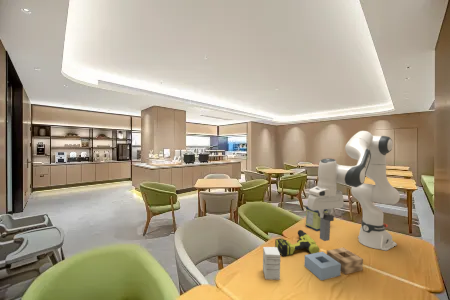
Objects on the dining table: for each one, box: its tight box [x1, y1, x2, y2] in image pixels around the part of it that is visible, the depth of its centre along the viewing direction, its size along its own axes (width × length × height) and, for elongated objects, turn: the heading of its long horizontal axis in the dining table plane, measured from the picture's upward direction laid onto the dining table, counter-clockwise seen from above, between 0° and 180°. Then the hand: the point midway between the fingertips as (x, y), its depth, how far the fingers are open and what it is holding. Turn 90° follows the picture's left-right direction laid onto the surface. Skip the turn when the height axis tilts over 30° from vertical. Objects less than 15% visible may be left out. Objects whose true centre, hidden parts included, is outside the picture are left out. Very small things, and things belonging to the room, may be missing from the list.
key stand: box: [326, 247, 364, 275], centre depth 113 cm, size 12×12×6 cm
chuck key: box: [318, 211, 335, 242], centre depth 107 cm, size 8×3×13 cm, turn 19°
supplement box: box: [262, 246, 281, 280], centre depth 104 cm, size 7×7×13 cm
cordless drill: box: [274, 229, 320, 257], centre depth 134 cm, size 7×25×25 cm
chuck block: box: [303, 251, 342, 281], centre depth 108 cm, size 12×12×6 cm
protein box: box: [305, 206, 328, 232], centre depth 163 cm, size 10×16×16 cm
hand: (325, 217), depth 107 cm, fingers closed on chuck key, 2 cm apart
